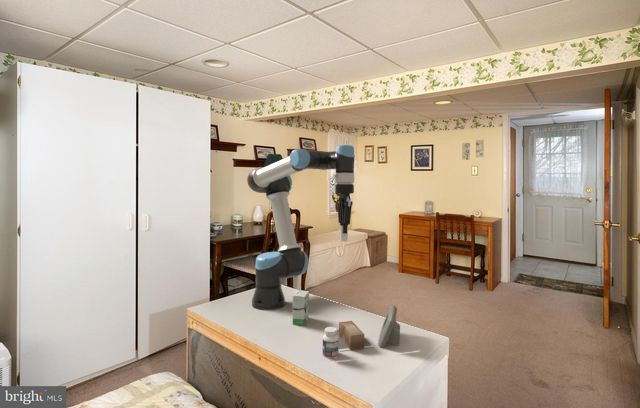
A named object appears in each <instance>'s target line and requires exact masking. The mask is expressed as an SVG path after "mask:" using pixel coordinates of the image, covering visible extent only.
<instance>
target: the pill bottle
mask: <svg viewBox="0 0 640 408" xmlns="http://www.w3.org/2000/svg"><path fill="white" fill-rule="evenodd" d="M337 330H338V329H337V328H336V327H335V326H327V327H326V328H324V334H323V336H322V356H323V357H324V358H326V359H336V358H338V357H339V356H340V355H339V352H340V351H339V349H338V344H339V337H338V335H337Z"/></svg>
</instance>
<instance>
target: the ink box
mask: <svg viewBox="0 0 640 408" xmlns="http://www.w3.org/2000/svg"><path fill="white" fill-rule="evenodd" d="M309 312H310V291H309V290H308V291H307V290H301V289H299V290H296V292H295V293H294V294H293V296H292V325H293V326H294V325H295V326H305V325H306V324H307V321H308V320H309V318H310V317H309V316H310V315H309Z"/></svg>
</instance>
